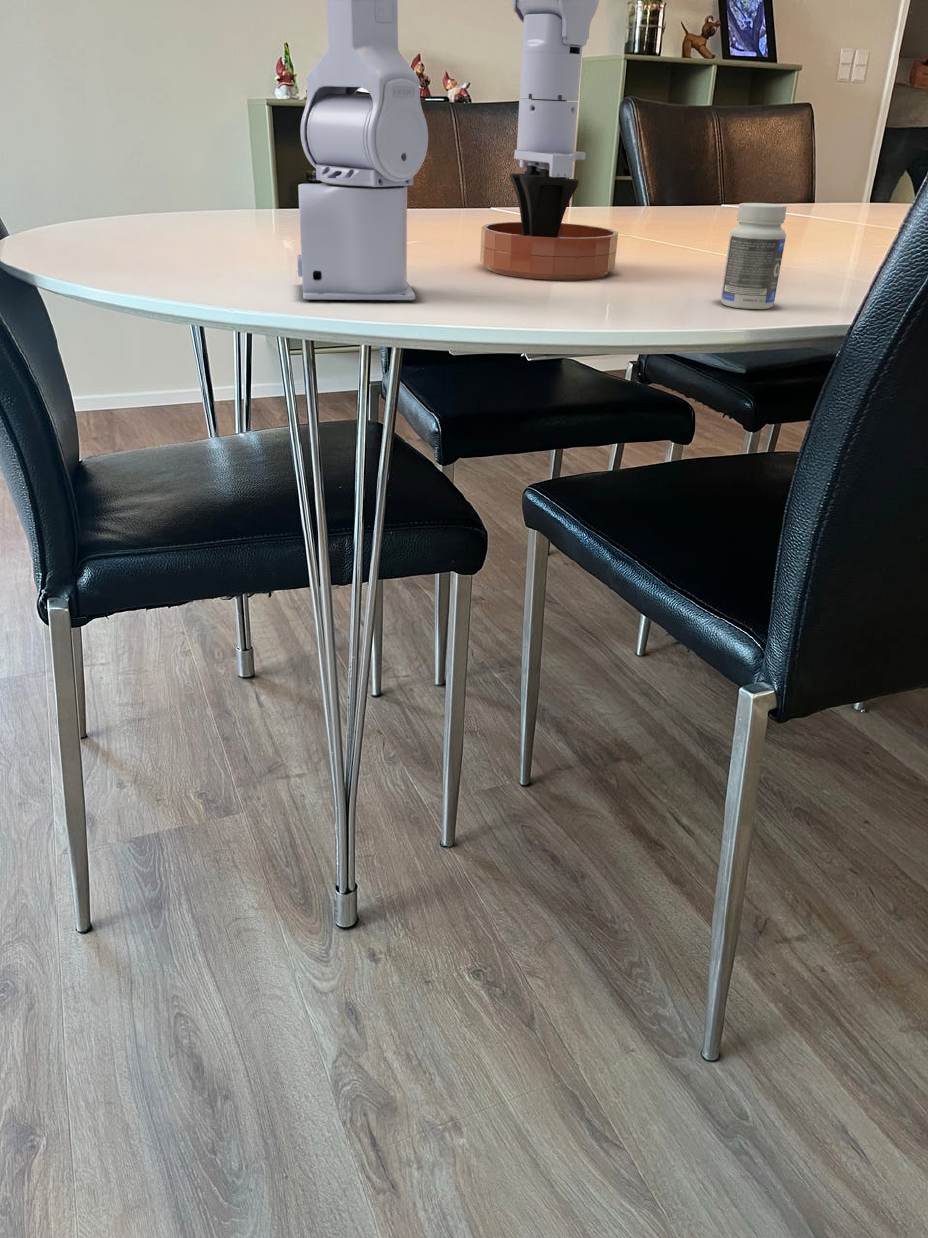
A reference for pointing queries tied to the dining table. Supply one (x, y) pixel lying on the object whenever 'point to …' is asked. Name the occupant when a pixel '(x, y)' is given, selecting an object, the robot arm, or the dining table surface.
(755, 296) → the pill bottle
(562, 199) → the robot arm
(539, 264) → the bowl
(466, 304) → the dining table surface
